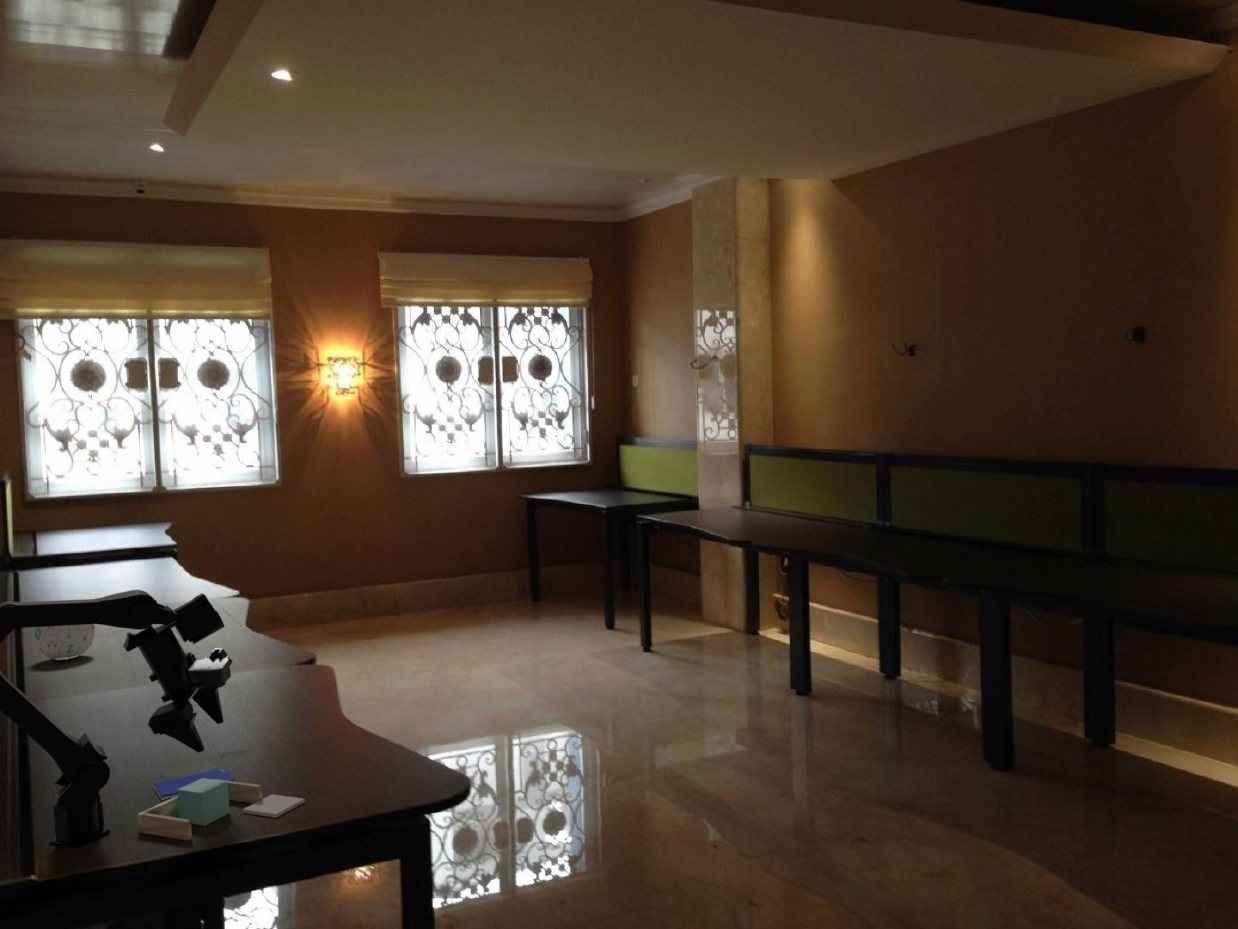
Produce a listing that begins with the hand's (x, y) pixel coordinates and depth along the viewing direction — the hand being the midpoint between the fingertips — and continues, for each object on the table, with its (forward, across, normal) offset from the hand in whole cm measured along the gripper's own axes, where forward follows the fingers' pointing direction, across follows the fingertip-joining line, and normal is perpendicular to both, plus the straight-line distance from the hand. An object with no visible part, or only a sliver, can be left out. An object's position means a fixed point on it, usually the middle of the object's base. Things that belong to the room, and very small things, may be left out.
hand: (211, 736), depth 184 cm
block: (+10, -7, +4) cm, 13 cm away
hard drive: (+11, +8, +13) cm, 19 cm away
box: (+10, -7, +4) cm, 13 cm away
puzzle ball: (+7, +113, +94) cm, 147 cm away
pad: (+14, -4, -6) cm, 16 cm away
